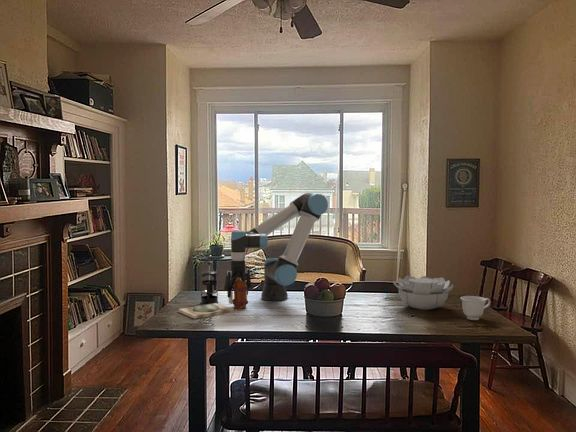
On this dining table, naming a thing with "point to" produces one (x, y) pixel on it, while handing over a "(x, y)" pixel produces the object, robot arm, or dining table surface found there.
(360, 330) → the dining table surface
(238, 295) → the mug
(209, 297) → the french press
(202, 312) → the serving board
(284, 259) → the robot arm
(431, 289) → the decorative bowl
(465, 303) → the teacup
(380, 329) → the dining table surface
